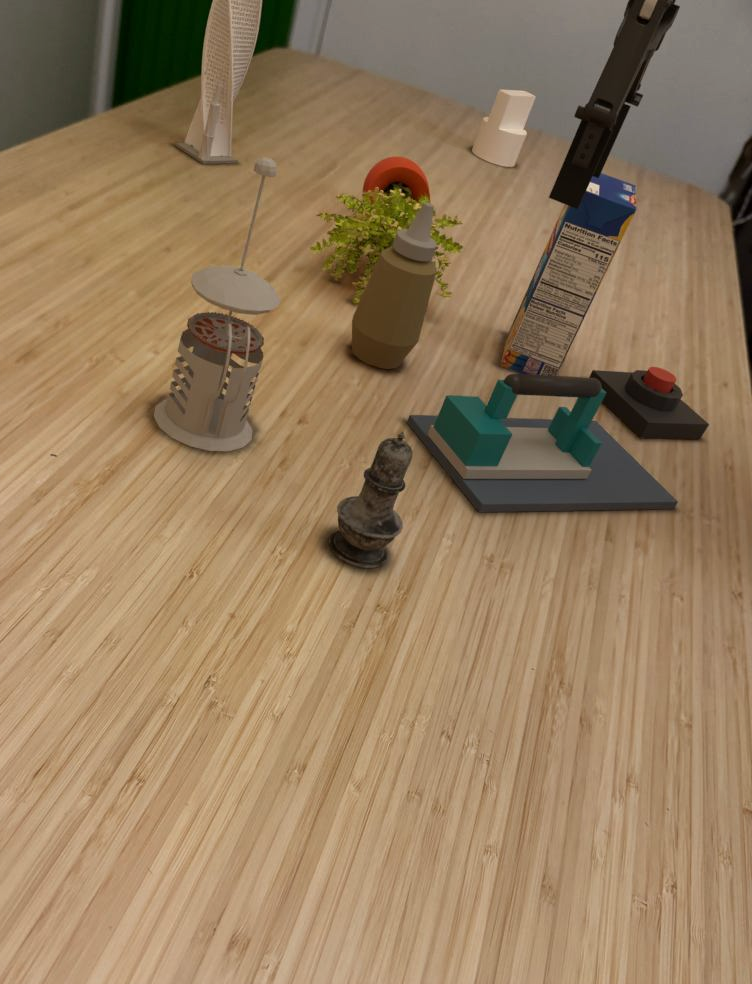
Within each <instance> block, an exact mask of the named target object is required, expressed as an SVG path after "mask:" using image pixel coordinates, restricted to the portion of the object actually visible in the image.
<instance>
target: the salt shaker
mask: <svg viewBox="0 0 752 984" xmlns="http://www.w3.org/2000/svg"><path fill="white" fill-rule="evenodd" d="M396 435H397V437H387V438H385V439H383V440H382V441H381V442H380V443H379V444H378V447H377V450H376V453H375V455H374V457H373V460H372V463H371V466H370V467H368V468H366V469H365V470H364V472H363V479H364V482H363V485H362V487H361V490H360V492H359V494H358V495H356V496H355V495H354V496H352V495H351V496H348V497H345V498H343V499H341V500H340V501H339V502H338V504H337V509H336V512H337V525H338V530H336V531H335V532H333V533H332V534H331V535H330V537H329V539H328V545H329V548H330V551H332V553H333V554H334V555H335V556H336V557H337V558H338V559H340V560H341V561H342V562H344V563H346V564H348V565H350V566H354V567H357V568H359V569H360V568H361V569H376V568H378V567H381V566H383V565H384V564H385V563H386V561H387V559H388V554H387V551H386V548H385V547H387V546H388V545H389V544H390V543H392V541H394V540H395V537H397V536H399V535H400V534H401V532H402V531H403V529H404V523H403V520H402V518H401V516H400V515H399V514H398V512H397V511H396V510H395V509H394V508H395V504H396V501H397V498H398V497H399V495H400V494H399V493H401V492H403V491H404V490H405V489H406V482H405V480H404V478H405V476H406V473H407V471H408V468H409V467H410V464H411V461H412V459H413V454H414V453H413V450H412V447H411V446H410V445H409V444H408V443H407V441H405V439H406V434H405V432H404V431H401V432H399V433H398V434H396Z"/></svg>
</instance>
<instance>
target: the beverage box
mask: <svg viewBox="0 0 752 984" xmlns="http://www.w3.org/2000/svg"><path fill="white" fill-rule="evenodd" d="M636 186H637V185H635V184H633V183H630V182H627V181H624V180H621V179H619V178H616V177H614V176H610V175H607V174H605V173H603V172H601V174H600V176H599V178H596V177H594V176H592V179H591V181H590V183H589V185H588V188H587V190H586V192H585V194H584V197H583V199H582V201H581V204H580V206H579V208H578V209H576V208H573V207H571V206H568V205H566V204H563V206H562V208H561V211H560V213H559V215H558V218H557V220H556V223H555V224H554V227H553V229H552V232H551V234H550V237H549V238H548V241H547V243H546V245H545V248H544V250H543V252H542V255H541V257H540V259H539V262H538V264H537V266H536V268H535V271H534V273H533V275H532V278H531V279H530V282H529V284H528V287H527V289H526V292H525V294H524V296H523V299H522V300H521V303H520V304H519V305H520V306H519V308H518V309H517V312H516V315H515V316H514V319H513V322H512V324H511V326H510V328H509V331H508V333H507V336H506V340H505V345H504V349H503V353H502V357H501V361H500V367H502V368H505V369H507V370H510V371H512V372H515V373H517V374H531V375H549V376H558V374H559V372H560V369H561V367H562V366H563V363H564V361H565V359H566V357H567V355H568V353H569V351H570V349H571V347H572V345H573V343H574V340H575V338H576V336H577V334H578V332H579V330H580V328H581V326H582V324H583V322H584V319H585V317H586V315H587V313H588V311H589V309H590V307H591V305H592V304H593V300H595V296H596V294H597V293H598V291H599V288H600V286H601V284H602V282H603V280H604V278H605V276H606V274H607V272H608V269H609V268H610V265H611V264H612V261H613V260H614V257H615V255H616V253H617V251H618V249H619V247H620V245H621V242H622V240H623V238H624V237H625V234H626V232H627V230H628V228H629V226H630V224H631V221H632V220H633V217H634V215H635V213H636V211H637V190H636V189H637V188H636Z"/></svg>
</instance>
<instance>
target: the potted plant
mask: <svg viewBox="0 0 752 984" xmlns="http://www.w3.org/2000/svg"><path fill="white" fill-rule="evenodd" d="M428 181H429V180H428V178H427V176H426V174H425V172H424V171H423V170H422V168H421V167H420V166H419V165H418V163H416V162H415V161H413V160H412V159H409V158H407V157H404V156H389V157H386V158H383V159H381V160H379V161H378V162H377V163H375V164H374V165H373V166H372V167H371V168H370V170H369V171H368V173H367V174H366V177H365V179H364V181H363V185H362V192H361V196H362V198H360V200H359V198H357V197H355V196H354V195H348V194H344V193H343V192H342V193H340V194H339V195H335V198H336V199H338V202H340V203H341V204H342V203H343V205H345V207H346V211H345V212H348V211H351V213H352V215H351V216H350V215H349V216H348V215H345V216H343V215H342V214H337V213H332V212H321V213H318V214H317V215H316V217H320V219H321V218H322V220H323V221H326V223H327V224H329V223H330V222H331V221H334V225H335V227H332V229H324V231H326V234H327V235H329V237H328V242H327V240H326V239H325V238H324V237H323V238H322V241H321V242H322V244H321V243H320V242H319V241H316V245H315V246H309V249H310V250H311V251H313V255H316V254H318V253H319V251H320V253H323V252H324V250H325V249H326V248H327V249H330V248H333V246H336V247H335V248H334V253H335V254H334V253H333V252H331V251H330V252H329V255H327V257H326V258H325V259H324V261H323V262H321V264H322V266H324V267H322V271H326V270H328V269H333V273H330V275H331V276H332V277H334V280H335V281H336V282H337V281H338V279H341V278H342V274H344V272H345V271H346V272H347V274H354V273H356V272H357V269H358V267H359V265H358V264H359V263H360V262H361V261H362V260H364V258H363V257H361V256H362V255H363V256H366V257H367V259H368V261H369V262H366V261H364V268H365V271H364V275H363V273H362V272H361V273H360V276H359V280H360V281H358V282H354V281H353V282H351V284H352V285H353V286H355V292H354V294H353V296H352V300H351V302H352V303H353V304H359V302H360V299H359V298H358V297H356V296H362V295H363V292H364V290H365V288H366V286H367V283H368V281H369V279H370V277H371V274H372V272H373V270H374V267H375V266H374V265H373V264H375V265H376V263H377V261H378V258H379V256H380V254H381V252H382V251H383V250H385V249H387V248H389V247H392V246H393V242H394V239H395V236H396V233H397V231H398V230H401V229H408V228H409V227H410V225H411V223H412V222H413V220H414V218H415V217H416V215H417V213H418V211H419V210H420V208H421V206H422V205H423V203H424V202H428V203H431V192H430V186H429V185H430V184H429V182H428ZM356 211H357V213H356V214H353V213H355V212H356ZM433 217H434V218H435V219H434V220H435V222H434V220H433V219H432V224H431V231H430V237H431V238H432V239H434V241H435V242H436V243H437V247H436V250H435V253H434V256H433V259H436V260H437V261H435V260H432V262H433V263H434V265H435V266H436V263H437V262H438V270H436V275H435V276H436V277H435V279H434V281H436V282H437V283H438V285H439V288H440V291H441V292H442V293H441V292H439V291H435V294H437V295H440V296H441V297H442V298H444V299H445V298H452V296H451V295H452V294H453V292H452V291H448V290H447V291H446V289H447V288H448V285H449V283H447V282H444V281H442V279H443V278H442V277H443V274H444V273H445V268H446V267H450V264H452V262H453V261H452V260H451V259H449V253H451V255H452V256H454V255H455V254H456V253H461V252H462V249H463V248H464V245H461V244H460V243H459V242H457V241H455V242H454V241H453V240H454V239H453V236H450V237H449V238H448V237H447V236H446V234H445V233H443V234H442V235H440V233H441V232H440V230H439V229H441V230H444V229H445V227H451V228H453V227H456V226H457V225H458V226H459V225H463V224H464V223H463V221H462V220H460V221H458V220H459V217H458V215H457V214H456V215H455V217H454V218H453V219H452V217H451V216H450V215H447V213H443V215H442V218H441V217H437V213H436V210H435V209H434V210H433ZM439 245H440V247H441V249H443V252H442V251H438V249H439ZM447 251H448V252H449V253H445V252H447ZM343 256H345V258H346V260H345V259H344V258H343ZM442 256H443V257H442ZM338 260H339V262H340V264H339V263H336V262H335V261H338ZM333 264H335V266H336V267H335V266H334V267H333V266H332V265H333ZM345 268H346V269H345ZM442 272H443V273H442ZM365 276H366V277H365Z"/></svg>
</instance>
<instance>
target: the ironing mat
mask: <svg viewBox="0 0 752 984" xmlns="http://www.w3.org/2000/svg"><path fill="white" fill-rule="evenodd" d="M437 417H438V415H431V414H430V415H429V414H409V415H408V418H407V421H406V424H407V425H408V426H409V427H410V429H411V430H412V431H413V432H414V433H415V435H416V436H417V438H419V440H420V441H421V442H422V444H423V445H424V446H425V447H426V448H427V450H428V451H429V453H430V454H431V455H432V456H433V457H434V459H435V460H436V461H437V463H439V465H440V466H441V467H442V469H443V470H444V471H445V472H446V474H447V475H448V476H449V477H450V478H451V480H452V481H453V482H454V483H455V485H456V486H457V488H459V490H460V491H461V492H462V493H463V495H464V496H465V497H466V498H467V500H468V501H469V503H470V504H472V506H473V507H474V509H476V511H477V512H478V513H507V512H508V513H510V512H511V513H512V512H515V513H516V512H517V513H518V512H567V511H568V512H570V511H571V512H573V511H576V512H577V511H628V510H629V511H630V510H631V511H632V510H640V511H641V510H675V508H676V506H677V504H678V503H679V501H678V500H677V499H676V498H675V497H674V496H673V495H672V494H671V493H670V492H669V491H668V490H667V489H666V488H665V487H664V486H663V485H662V484H661V483H660V482H659V481H658V480H657V479H656V478H655V476H653V475H652V474H650V472H649V471H648V470H646V468H645V467H644V466H642V465H641V463H639V462H638V461H637V459H636V458H635V457H634V456H632V455H631V454H630V453H629V452H628V451H627V450H626V449H625V448H624V446H622V445H621V444H620V443H619V441H617V440H616V439H615V438H614V437H613V436H612V435H611V434H610V432H608V431H607V430H606V429H605V428H604V427H603V426H602V425H601V424H600V423H599V422H598V421H596V420H592V422H591V423H590V425H589V427H588V429H589V430H590V431H591V432H592V433H593V434H594V435H595V436H596V437H597V438H598V439H599V440H600V441H601V442H602V444H601V446H600V448H599V450H598V452H597V453H596V455H595V457H594V459H593V461H592V463H591V465H590V466H589V467H590V469H591V472H590V474H589V476H588V478H587V479H463V478H462V477H461V475H460V474H459V473H458V472H457V470H456V469H455V468H454V467H453V466H452V464H451V463H450V462H449V461H448V459H447V458H446V457H445V456H444V454H443V453H442V452H441V451H440V450H439V448H438V447H437V446H436V445H435V443H434V442H433V441H432V440H431V439H430V437H429V436H428V435H427V434H428V431H429V429H430V426H431V425H435V422H436V420H437ZM499 420H500V421H501V422H502V423H503V424H504V425H505V426H506V427H525V428H549V426H550V424H551V422H552V420H553V418H524V417H522V418H521V417H507V419H499Z"/></svg>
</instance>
